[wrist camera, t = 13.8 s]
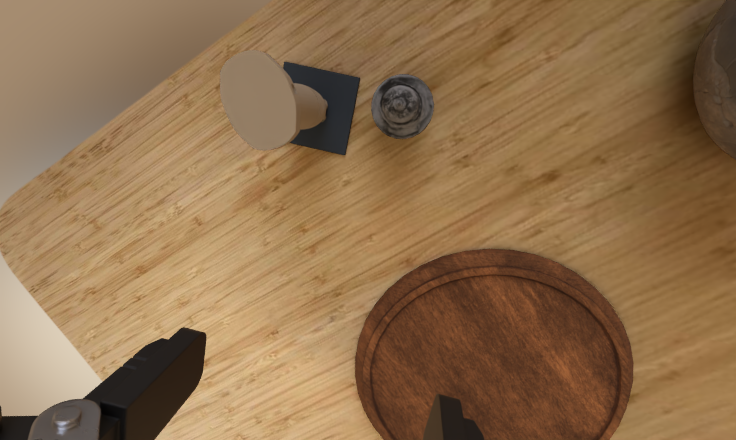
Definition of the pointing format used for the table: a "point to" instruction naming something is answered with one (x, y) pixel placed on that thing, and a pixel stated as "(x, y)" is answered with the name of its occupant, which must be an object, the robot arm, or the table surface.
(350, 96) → the place mat
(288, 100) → the handle
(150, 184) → the table surface
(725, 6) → the bowl
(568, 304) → the cutting board
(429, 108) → the grey stone chess piece
